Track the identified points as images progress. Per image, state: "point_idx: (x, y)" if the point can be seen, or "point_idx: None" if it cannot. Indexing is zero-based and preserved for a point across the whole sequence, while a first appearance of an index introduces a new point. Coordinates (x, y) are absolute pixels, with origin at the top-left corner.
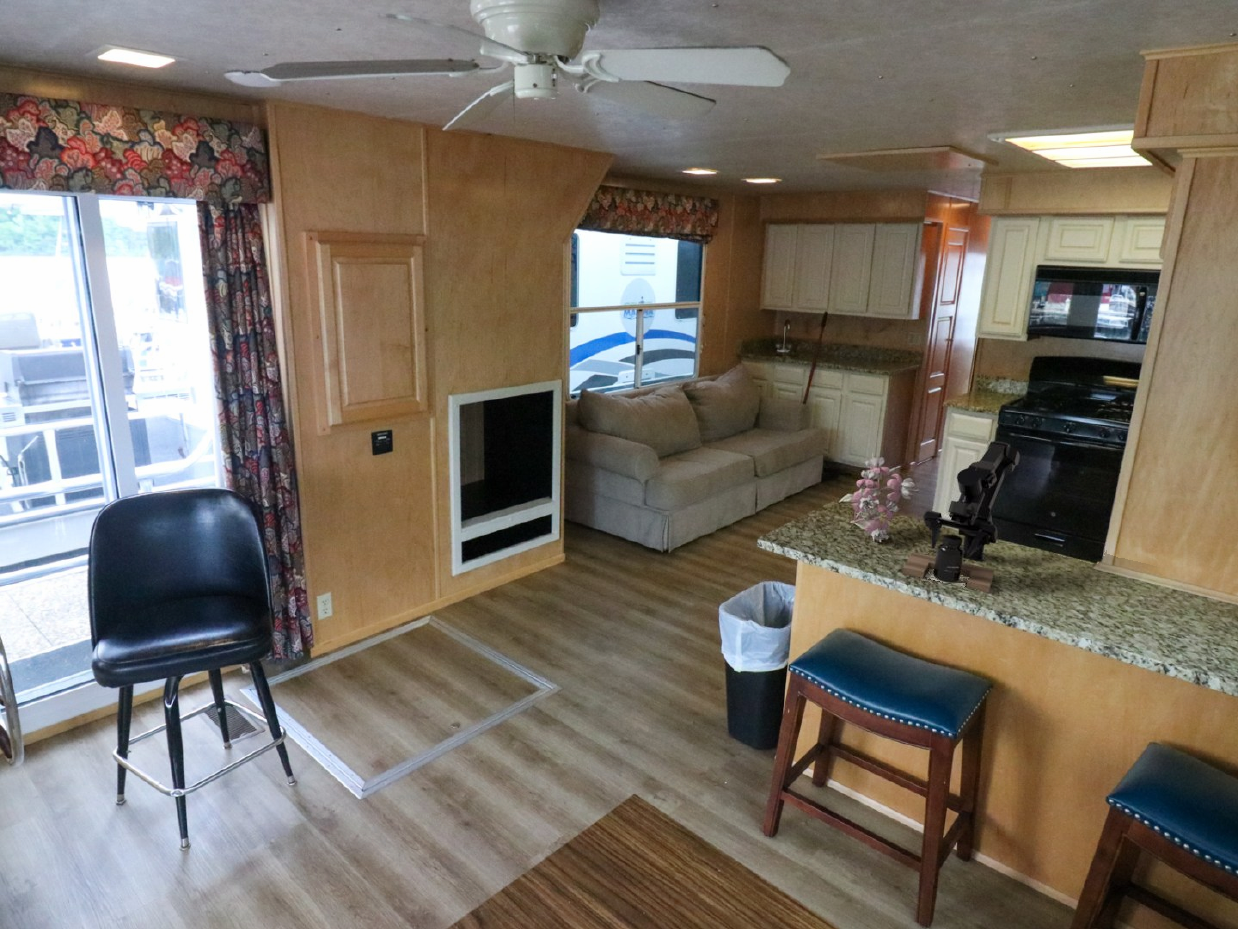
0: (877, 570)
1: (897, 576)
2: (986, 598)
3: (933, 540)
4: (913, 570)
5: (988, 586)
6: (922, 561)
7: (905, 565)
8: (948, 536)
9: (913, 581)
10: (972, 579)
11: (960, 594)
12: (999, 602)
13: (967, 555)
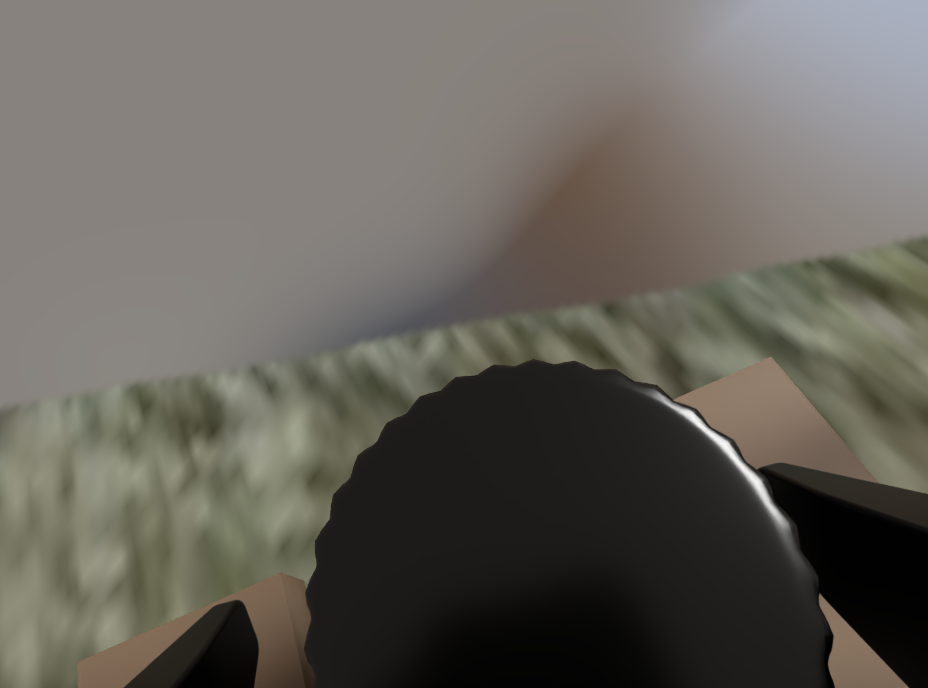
0: (858, 295)
1: (719, 323)
2: (121, 531)
3: (875, 497)
4: (696, 393)
5: (93, 656)
6: (860, 672)
7: (802, 407)
8: (645, 506)
9: (606, 343)
10: (259, 671)
11: (290, 427)
12: (24, 549)
13: (225, 604)
